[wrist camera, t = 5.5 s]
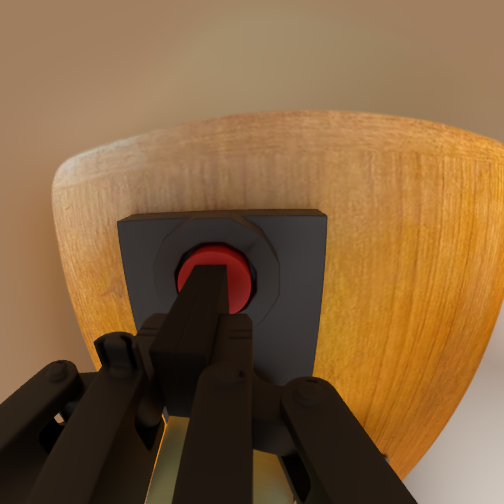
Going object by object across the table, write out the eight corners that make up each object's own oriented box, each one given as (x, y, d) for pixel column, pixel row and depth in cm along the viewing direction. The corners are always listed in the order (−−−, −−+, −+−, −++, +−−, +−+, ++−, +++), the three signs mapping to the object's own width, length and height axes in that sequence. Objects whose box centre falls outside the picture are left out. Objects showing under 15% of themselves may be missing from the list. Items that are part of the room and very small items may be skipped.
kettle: (164, 370, 16) (101, 562, 3) (312, 371, 15) (357, 577, 3) (187, 442, 18) (163, 576, 6) (299, 443, 18) (316, 581, 5)
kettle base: (130, 211, 17) (100, 223, 13) (318, 205, 16) (337, 216, 13) (171, 408, 22) (162, 439, 18) (300, 410, 22) (305, 443, 18)
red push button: (182, 241, 14) (173, 252, 13) (250, 240, 14) (250, 250, 13) (188, 302, 15) (182, 318, 14) (251, 302, 15) (251, 318, 14)
